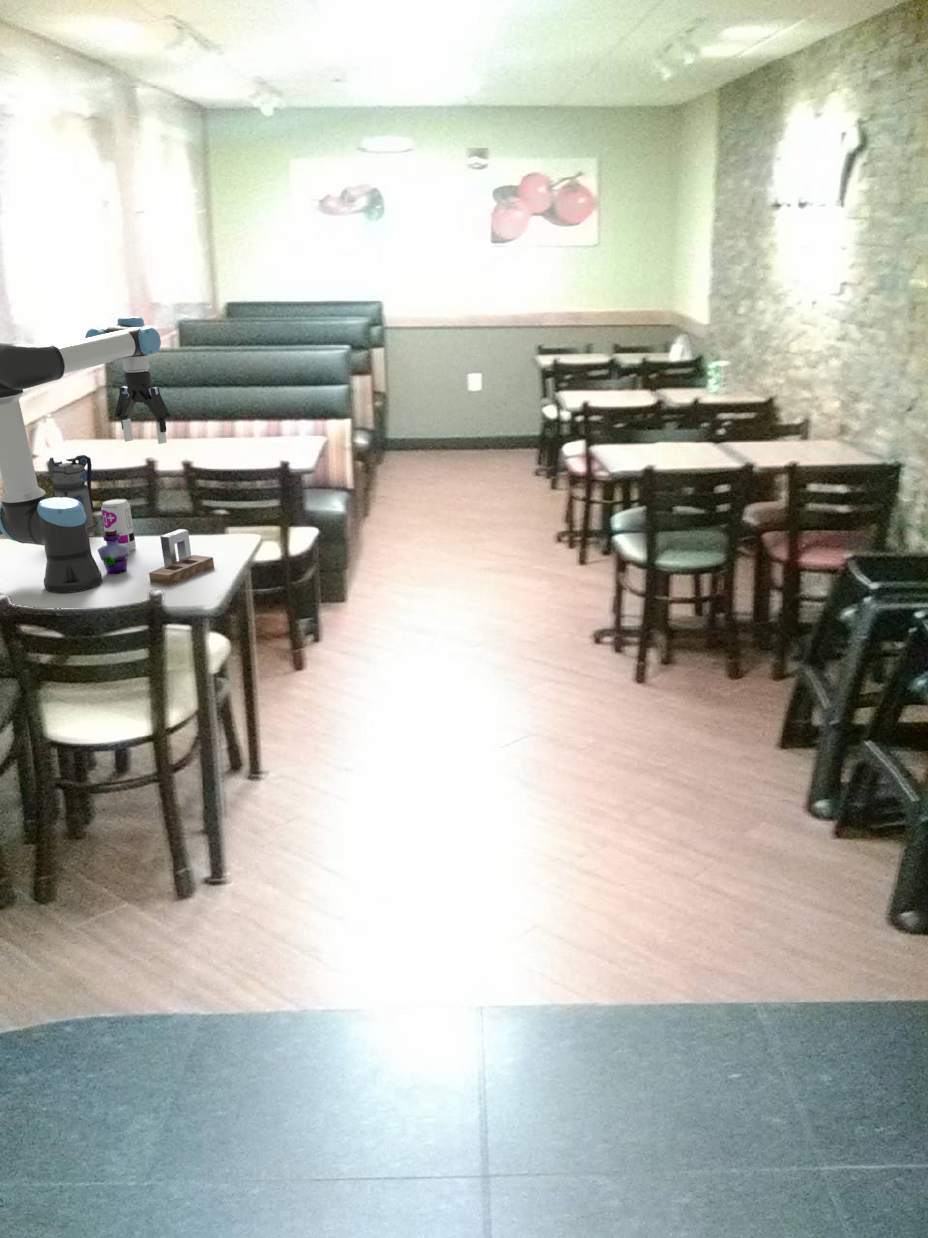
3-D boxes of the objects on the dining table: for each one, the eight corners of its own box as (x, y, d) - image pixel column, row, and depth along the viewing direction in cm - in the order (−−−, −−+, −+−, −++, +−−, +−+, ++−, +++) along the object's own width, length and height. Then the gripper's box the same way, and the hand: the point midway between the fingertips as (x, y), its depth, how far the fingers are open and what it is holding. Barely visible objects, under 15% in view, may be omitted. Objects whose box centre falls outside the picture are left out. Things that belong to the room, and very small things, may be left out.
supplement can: (119, 555, 340) (111, 506, 335) (102, 551, 345) (94, 503, 340) (141, 548, 346) (134, 500, 341) (124, 545, 351) (117, 497, 346)
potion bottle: (100, 577, 319) (94, 535, 315) (101, 569, 327) (94, 528, 323) (132, 573, 321) (126, 532, 317) (132, 565, 329) (126, 524, 325)
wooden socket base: (169, 586, 309) (168, 575, 308) (150, 583, 312) (148, 572, 311) (214, 567, 323) (213, 557, 322) (195, 564, 326) (194, 554, 326)
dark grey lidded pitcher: (106, 531, 368) (94, 454, 359) (66, 539, 360) (52, 460, 352) (95, 525, 375) (83, 449, 367) (55, 533, 368) (41, 456, 360)
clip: (172, 569, 323) (168, 537, 320) (164, 568, 324) (160, 536, 321) (192, 562, 330) (187, 529, 326) (184, 560, 331) (179, 529, 328)
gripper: (177, 369, 338) (185, 441, 345) (115, 368, 350) (124, 437, 356) (159, 372, 332) (168, 446, 338) (96, 370, 343) (106, 441, 350)
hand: (145, 442), depth 347 cm, fingers open, 13 cm apart
